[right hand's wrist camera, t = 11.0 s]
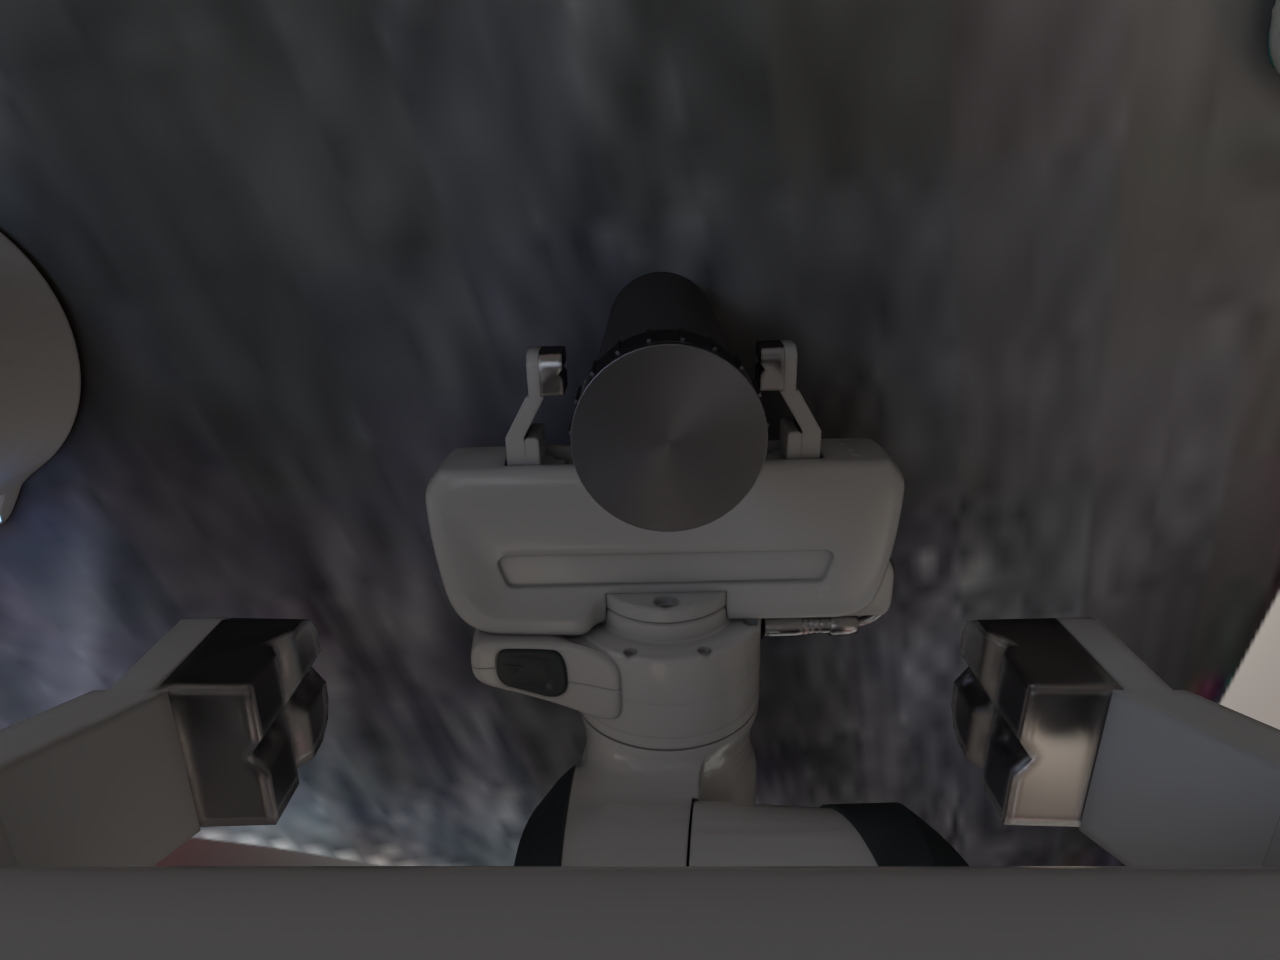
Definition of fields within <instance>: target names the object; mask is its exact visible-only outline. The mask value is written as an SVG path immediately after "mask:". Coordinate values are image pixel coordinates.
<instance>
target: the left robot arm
mask: <svg viewBox="0 0 1280 960" xmlns="http://www.w3.org/2000/svg"><path fill="white" fill-rule="evenodd" d="M756 356H757V358H758V360H759V361H758V362H757V364H756V365H755V381H756V383H757V384H758V387H759V389H760V391H780V392H781V394H782V396H783V398H784V400H785V401H786V403H787V405H788V407H789V409H790V410H791V412H792V414H793V416H794V420H793V419H792V418H791V417H783V418H782V419H781V420H780V437H779V440H768V449H767V454H766V459H765V463H764V465H763V468H762V471H761V473H760V475H759V477H758V479H757V481H756V483H755V485H754V486H753V488H752V489H751V491H750V492H749V494H748V495H747V496H746V497H745V498H744V499H743V500H742V501H741V503H739V504H738V505H737V506H736V507H735V508H734V509H733V510H731V511H730V512H728V513H727V514H726V515H724V516H723V517H721V518H719V519H717V520H715V521H713V522H711V523H709V524H707V525H704V526H701V527H698V528H694V529H690V530H686V531H677V532H659V531H652V530H646V529H642V528H638V527H635V526H633V525H630V524H628V523H625V522H623V521H621V520H620V519H618V518H616V517H614V516H613V515H611V514H610V513H608V512H607V511H606V510H604V509H603V508H602V507H601V506H600V505H599V504H598V503H597V502H596V501H595V500H594V499H593V498H592V497H591V496H590V494H589V493H588V492H587V490H586V489H585V487H584V486H583V484H582V483H581V481H580V479H579V476H578V474H577V472H576V469H575V466H574V463H573V460H572V454H571V448H570V445H546V441H545V430H544V425H543V424H542V423H534V424H533V425H532V426H531V423H532V421H533V419H534V417H535V415H536V413H537V411H538V409H539V407H540V405H541V403H542V401H543V399H544V397H545V396H564V394H565V389H566V388H567V385H568V382H567V369H566V368H565V367H564V364H565V361H566V351H565V346H535V347H529V349H528V351H527V353H526V371H527V384H528V394H527V396H526V397H525V399H524V401H523V403H522V405H521V407H520V409H519V411H518V413H517V415H516V417H515V419H514V421H513V423H512V425H511V427H510V429H509V431H508V433H507V435H506V437H505V442H506V446H497V447H461V448H456V449H454V450H452V451H451V452H450V453H449V454H448V455H447V457H446V458H445V459H444V460H443V461H442V462H441V463H440V465H439V466H438V467H437V468H436V470H435V471H434V473H433V474H432V476H431V478H430V480H429V482H428V484H427V488H426V494H425V501H426V509H427V517H428V523H429V528H430V533H431V539H432V543H433V548H434V552H435V556H436V560H437V564H438V568H439V571H440V575H441V578H442V581H443V585H444V588H445V591H446V594H447V596H448V599H449V601H450V603H451V605H452V606H453V608H454V610H455V611H456V612H457V614H458V615H459V616H460V617H461V618H462V619H463V620H464V621H465V622H466V623H468V624H469V625H470V626H472V627H474V628H475V632H474V636H473V642H472V650H471V665H472V670H473V673H474V675H475V677H476V678H477V679H478V680H479V681H481V682H483V683H485V684H487V685H490V686H493V687H497V688H501V689H505V690H509V691H513V692H517V693H521V694H525V695H529V696H533V697H536V698H540V699H544V700H547V701H550V702H554V703H557V704H560V705H563V706H566V707H569V708H572V709H574V710H577V711H579V712H580V715H581V717H582V720H583V723H584V726H585V730H586V739H587V742H586V746H585V749H584V753H583V757H582V765H581V766H578V767H577V766H573V767H572V768H571V769H570V770H568V771H567V772H566V773H565V774H564V775H563V776H562V777H561V778H560V779H559V781H558V782H557V783H556V784H555V785H554V786H553V788H552V789H551V790H550V791H549V793H548V794H547V795H546V796H545V798H544V799H543V800H542V801H541V803H540V804H539V805H538V806H537V808H536V809H535V810H534V812H533V813H532V815H531V817H530V819H529V821H528V822H527V824H526V827H525V829H524V831H523V834H522V837H521V840H520V843H519V846H518V850H517V854H516V859H515V864H514V866H969V865H968V864H967V863H966V861H965V860H964V859H963V858H962V857H961V856H960V855H959V853H958V852H957V851H956V850H955V849H954V848H953V847H952V846H951V845H950V844H949V843H948V842H947V841H946V840H945V839H944V838H943V837H942V836H941V835H940V834H939V833H938V832H936V831H935V830H934V829H933V828H932V827H930V826H929V825H928V824H927V823H926V822H925V821H923V820H922V819H921V818H920V817H918V816H917V815H916V814H914V813H913V812H912V811H910V810H909V809H908V808H907V807H905V806H904V805H902V804H900V803H897V802H892V803H860V804H828V805H822V806H821V807H801V806H783V805H765V804H755V800H756V783H757V764H756V758H755V753H754V749H753V747H752V744H751V741H750V730H751V728H752V725H753V723H754V720H755V717H756V714H757V711H758V704H759V686H760V685H759V684H760V650H761V643H760V639H762V638H763V637H791V636H801V635H807V634H808V635H809V634H813V633H814V634H819V633H820V634H829V635H834V636H841V635H849V634H854V633H857V632H858V629H859V627H860V626H864V625H867V624H870V623H871V622H873V621H875V620H877V619H878V618H879V617H880V616H882V615H883V614H885V613H886V612H887V611H888V609H889V607H890V604H891V600H892V592H893V581H894V565H893V562H892V559H891V554H892V550H893V546H894V542H895V538H896V534H897V530H898V525H899V520H900V515H901V509H902V503H903V497H904V477H903V475H902V472H901V470H900V469H899V467H898V465H897V464H896V463H895V461H894V460H893V458H892V457H891V456H890V455H889V454H888V453H887V452H886V451H885V450H884V449H883V448H882V447H881V446H880V445H879V444H878V443H877V442H876V441H874V440H872V439H870V438H835V439H821V429H820V427H819V426H818V424H817V422H816V420H815V418H814V417H813V415H812V413H811V411H810V409H809V408H808V406H807V404H806V402H805V400H804V399H803V397H802V395H801V393H800V391H799V390H798V388H797V387H796V378H797V347H796V344H795V343H794V342H793V341H792V340H770V341H757V343H756ZM80 392H81V372H80V362H79V357H78V351H77V347H76V343H75V340H74V336H73V333H72V330H71V328H70V325H69V322H68V320H67V317H66V315H65V313H64V311H63V309H62V307H61V305H60V303H59V301H58V299H57V298H56V296H55V294H54V293H53V291H52V289H51V288H50V286H49V285H48V283H47V282H46V280H45V279H44V278H43V276H42V275H41V273H40V272H39V271H38V270H37V268H36V267H35V266H34V265H33V263H32V262H31V261H30V260H29V259H28V258H27V257H26V256H25V254H24V253H23V252H22V251H21V250H20V249H19V248H18V247H17V246H16V245H15V244H14V243H13V242H11V241H10V240H9V239H8V238H7V237H6V236H5V235H4V234H2V233H1V232H0V525H1V524H3V523H4V522H5V521H6V520H7V519H8V517H9V516H10V514H11V512H12V510H13V508H14V506H15V503H16V500H17V498H18V495H19V492H20V489H21V485H22V484H23V483H24V481H25V480H26V479H27V478H28V477H29V476H30V475H31V474H32V473H34V472H35V471H36V470H37V469H38V468H40V467H41V466H42V465H43V464H45V463H46V462H47V461H48V460H49V459H50V458H51V457H52V456H53V455H54V454H55V453H56V452H57V451H58V450H59V448H60V447H61V446H62V444H63V443H64V441H65V440H66V438H67V436H68V435H69V433H70V431H71V428H72V426H73V424H74V421H75V418H76V415H77V411H78V407H79V401H80ZM864 615H865V616H864ZM858 616H863V617H859V618H858Z"/></svg>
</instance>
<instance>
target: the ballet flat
mask: <svg viewBox="0 0 1280 960" xmlns="http://www.w3.org/2000/svg"><path fill="white" fill-rule="evenodd" d="M1267 47H1268V55H1269V59H1270V62H1271V64H1272V65H1273V67H1274V68H1275V69H1276V70H1277V72H1278V73H1279V75H1280V0H1276V2H1275V5H1274V7H1273V9H1272V18H1271V25H1270V28H1269V34H1268V44H1267Z"/></svg>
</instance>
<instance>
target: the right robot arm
mask: <svg viewBox="0 0 1280 960" xmlns="http://www.w3.org/2000/svg"><path fill="white" fill-rule="evenodd" d="M320 651H321V649H320V644H319V639H318V634H317V629H316V627H315V626H314V624H313V623H312V622H311V621H310V620H309V619H259V618H230V619H229V618H226V617H213V618H189V619H182V620H180V621H179V622H178V623H177V624H176V625H175V626H174V627H173V628H172V629H171V630H170V631H169V632H168V633H167V634H166V635H165V636H164V637H163V638H162V639H161V640H159V641H158V642H157V643H156V644H155V645H154V646H153V647H152V648H151V649H150V650H149V651H148V652H147V653H146V654H145V655H144V656H143V657H142V658H141V659H140V660H139V661H137V662H136V663H135V664H134V665H133V666H132V667H131V668H130V669H129V670H128V671H127V672H126V673H125V674H124V675H123V676H122V677H121V678H120V679H119V680H118V681H116V682H115V683H114V684H113V685H112V686H111V687H110V688H109V689H108V690H93V691H91V692H89V693H86V694H84V695H82V696H79V697H77V698H74V699H72V700H70V701H67V702H65V703H63V704H60V705H58V706H56V707H53V708H51V709H48V710H46V711H44V712H41V713H39V714H37V715H34V716H32V717H30V718H27V719H25V720H22V721H20V722H18V723H15V724H13V725H11V726H8V727H6V728H4V729H1V730H0V960H1280V730H1278V729H1276V728H1274V727H1271V726H1269V725H1267V724H1264V723H1262V722H1260V721H1257V720H1255V719H1253V718H1250V717H1248V716H1245V715H1243V714H1241V713H1238V712H1236V711H1234V710H1231V709H1229V708H1227V707H1224V706H1222V705H1220V704H1217V703H1215V702H1213V701H1210V700H1208V699H1206V698H1203V697H1201V696H1198V695H1196V694H1194V693H1191V692H1189V691H1187V690H1172V689H1171V688H1170V687H1169V686H1168V685H1167V684H1166V683H1165V682H1164V681H1163V680H1162V679H1160V678H1159V677H1158V676H1157V675H1156V674H1155V673H1154V672H1153V671H1152V670H1151V669H1150V668H1149V667H1148V666H1147V665H1146V664H1145V663H1144V662H1143V661H1142V660H1141V659H1140V658H1138V657H1137V656H1136V655H1135V654H1134V653H1133V652H1132V651H1131V650H1130V649H1129V648H1128V647H1127V646H1126V645H1125V644H1124V643H1123V642H1122V641H1121V640H1120V639H1119V638H1118V637H1117V636H1115V635H1114V634H1113V633H1112V632H1111V631H1110V630H1109V629H1108V628H1107V627H1106V626H1105V625H1104V624H1103V623H1102V622H1101V621H1100V620H1097V619H1094V618H1091V617H1076V618H1039V619H998V620H973V621H967V624H966V626H965V628H964V630H963V632H962V637H961V643H960V648H959V651H960V653H961V655H962V656H963V658H964V659H965V661H966V662H967V664H968V665H969V667H968V668H967V669H966V670H965V671H964V672H963V673H962V674H961V675H960V676H959V677H958V678H957V679H956V680H955V681H954V687H953V696H952V704H951V706H952V717H953V727H954V730H955V734H956V737H957V740H958V743H959V745H960V747H961V749H962V750H963V752H964V754H965V756H966V758H968V759H969V760H971V761H973V762H974V763H976V764H977V765H979V766H980V767H982V768H983V773H982V779H981V785H982V786H983V788H984V790H985V792H986V793H987V795H988V797H989V799H990V800H991V802H992V804H993V806H994V807H995V809H996V811H997V813H998V814H999V816H1000V818H1001V820H1002V821H1003V823H1004V825H1037V826H1074V827H1080V829H1079V830H1080V831H1081V832H1083V833H1084V834H1085V835H1087V836H1088V837H1089V838H1090V839H1092V840H1093V841H1094V842H1096V843H1097V844H1098V845H1100V846H1101V847H1102V848H1104V849H1105V850H1106V851H1107V852H1109V853H1110V854H1111V855H1113V856H1114V857H1115V858H1117V859H1118V860H1119V861H1121V862H1122V863H1123V864H1124V865H1126V866H155V865H156V864H157V863H158V862H160V861H161V860H162V859H164V858H165V857H166V856H167V855H169V854H170V853H171V852H173V851H174V850H175V849H177V848H178V847H179V846H181V845H182V844H183V843H185V842H186V841H187V840H188V839H190V838H191V837H192V836H194V835H195V834H196V833H198V832H199V831H200V827H206V826H241V825H276V823H277V822H278V820H279V818H280V816H281V815H282V813H283V811H284V809H285V808H286V806H287V804H288V802H289V800H290V799H291V797H292V795H293V793H294V792H295V790H296V788H297V786H298V785H299V779H298V773H297V768H298V767H300V766H301V765H303V764H304V763H306V762H307V761H309V760H311V759H312V758H314V756H315V754H316V752H317V750H318V748H319V747H320V745H321V743H322V741H323V737H324V733H325V728H326V724H327V720H328V693H327V686H326V681H325V680H324V679H323V678H322V677H321V676H320V675H319V674H318V673H317V672H316V671H315V670H314V669H313V668H312V667H311V665H312V664H313V662H314V661H315V659H316V658H317V656H318V655H319V653H320Z"/></svg>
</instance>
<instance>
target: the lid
mask: <svg viewBox="0 0 1280 960" xmlns="http://www.w3.org/2000/svg"><path fill="white" fill-rule="evenodd" d="M761 396H762V395H761V393H760V391H759V389H758V387H757V385H756V383H755V381H754V380H752V381H751V379H750V377H749V375H748V374H747V372H746V370H745V369H744V367H743V365H742V363H741V361H740V359H739V357H738V356H737V355H735V356H733V355H732V354H731V353H730V352H729V351H728V350H726V349H725V348H724V347H723V346H721V345H720V344H718V343H716V342H715V341H714V338H713V337H711V336H710V338H707V337H704V336H702V335H700V334H696V333H692V332H689V331H683V328H679V330H671V329H662V330H654V331H651V329H647V332H645V333H641V334H637V335H635V336H633V337H630V338H628V339H626V340H624V341H622V342H621V340H619V341H617V344H616V345H615V346H614V347H613V348H611V349H610V350H609V351H607V352H606V353H605V354H604V355H603V356H602V357H601V358H600V359H599V360H598V361H596V360H595V361H594V362H593V365H592V368H591V370H590V372H589V374H588V376H587V377H586V379H585V381H584V383H583V386H582V387H580V386H579V388H578V391H577V394H576V397H575V400H574V403H575V404H576V407H575V410H574V414H573V418H572V421H571V424H570V427H569V431H568V434H570V448H571V454H572V460H573V463H574V466H575V469H576V472H577V474H578V476H579V479H580V481H581V483H582V484H583V486H584V487H585V489H586V490H587V492H588V493H589V494H590V496H591V497H592V498H593V499H594V500H595V501H596V502H597V503H598V504H599V505H600V506H601V507H602V508H603V509H604V510H606V511H607V512H608V513H610V514H611V515H613V516H614V517H616V518H618V519H620V520H621V521H623V522H625V523H628V524H630V525H633V526H635V527H638V528H642V529H646V530H652V531H659V532H677V531H686V530H690V529H694V528H698V527H701V526H704V525H707V524H709V523H711V522H713V521H715V520H717V519H719V518H721V517H723V516H724V515H726V514H727V513H728V512H730V511H731V510H733V509H734V508H735V507H736V506H737V505H738V504H739V503H741V501H742V500H743V499H744V498H745V497H746V496H747V495H748V494H749V492H750V491H751V489H752V488H753V486H754V485H755V483H756V481H757V479H758V477H759V475H760V473H761V471H762V468H763V465H764V463H765V459H766V454H767V449H768V427H769V423H768V421H767V419H766V415H765V411H764V408H763V405H762V403H761V400H760V398H759V397H761Z"/></svg>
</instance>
